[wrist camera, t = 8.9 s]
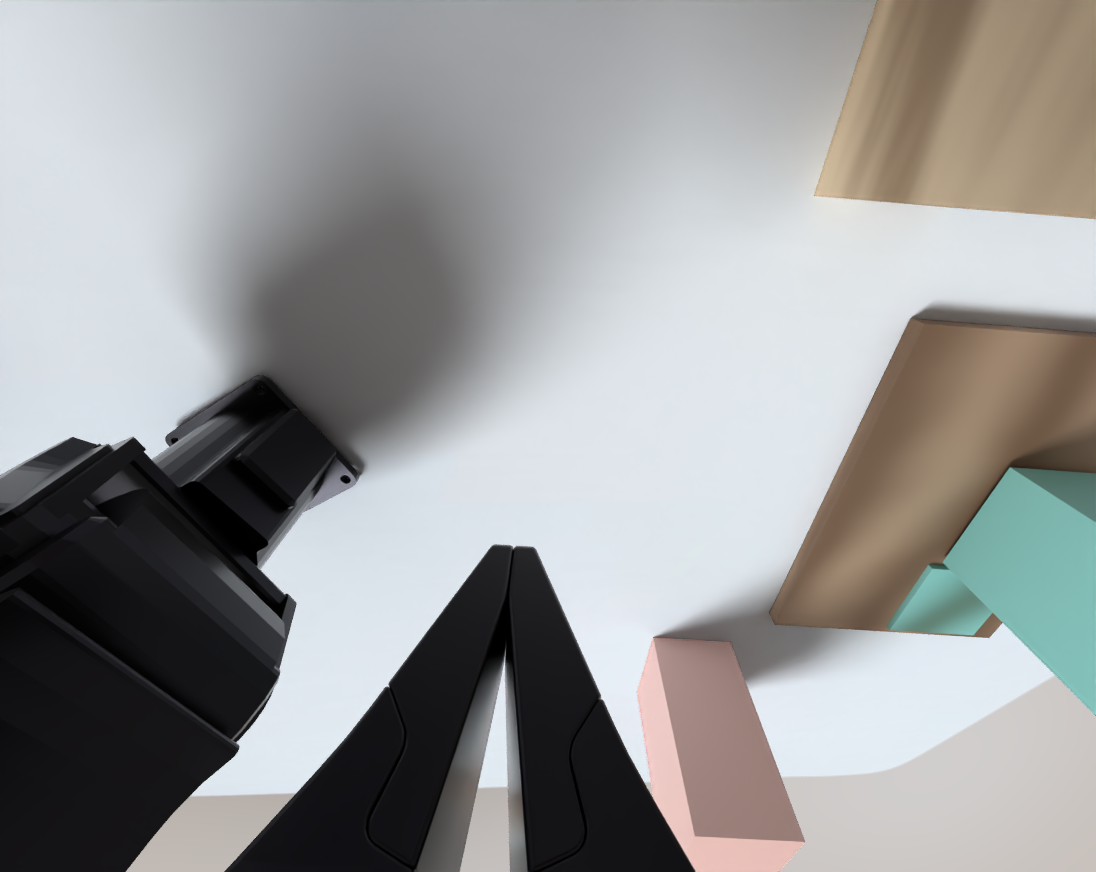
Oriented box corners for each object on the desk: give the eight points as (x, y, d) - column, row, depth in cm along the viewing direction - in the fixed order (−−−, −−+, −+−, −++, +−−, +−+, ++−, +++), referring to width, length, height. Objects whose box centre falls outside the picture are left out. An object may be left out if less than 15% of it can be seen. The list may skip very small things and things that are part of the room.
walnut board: (769, 613, 27) (777, 628, 26) (910, 318, 18) (930, 326, 17) (978, 626, 28) (993, 642, 27) (1217, 342, 19) (1253, 351, 18)
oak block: (813, 195, 16) (1106, 219, 8) (888, -35, 13) (1514, -431, 5) (949, 207, 16) (1391, 242, 8) (1053, -19, 13) (1967, -376, 5)
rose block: (636, 691, 32) (667, 885, 23) (653, 637, 29) (694, 836, 20) (707, 695, 32) (763, 890, 23) (730, 642, 29) (805, 842, 20)
